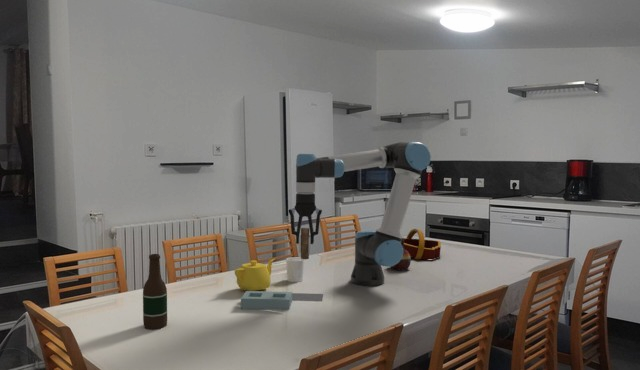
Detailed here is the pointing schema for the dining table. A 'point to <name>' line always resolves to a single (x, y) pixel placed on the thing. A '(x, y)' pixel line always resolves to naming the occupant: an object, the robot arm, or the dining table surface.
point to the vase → (403, 260)
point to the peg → (304, 243)
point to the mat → (306, 297)
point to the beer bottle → (154, 297)
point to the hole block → (266, 300)
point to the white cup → (295, 269)
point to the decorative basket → (421, 246)
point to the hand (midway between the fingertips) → (304, 252)
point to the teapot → (254, 276)
